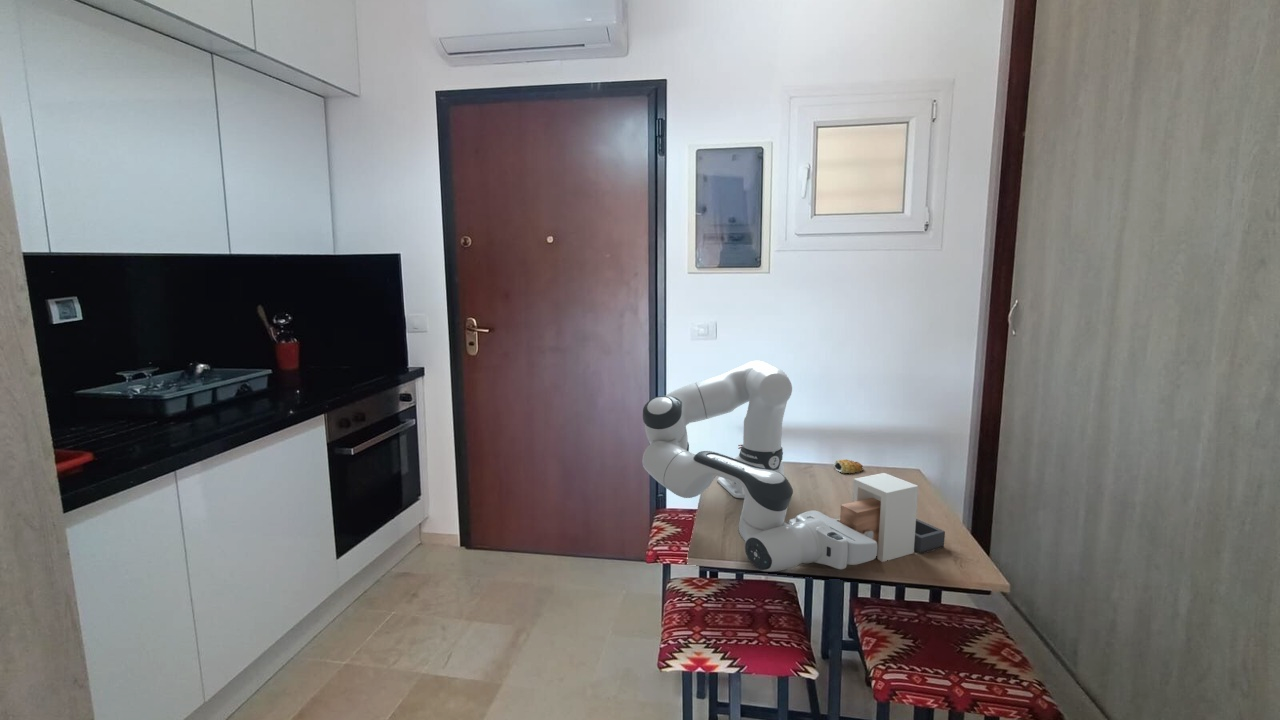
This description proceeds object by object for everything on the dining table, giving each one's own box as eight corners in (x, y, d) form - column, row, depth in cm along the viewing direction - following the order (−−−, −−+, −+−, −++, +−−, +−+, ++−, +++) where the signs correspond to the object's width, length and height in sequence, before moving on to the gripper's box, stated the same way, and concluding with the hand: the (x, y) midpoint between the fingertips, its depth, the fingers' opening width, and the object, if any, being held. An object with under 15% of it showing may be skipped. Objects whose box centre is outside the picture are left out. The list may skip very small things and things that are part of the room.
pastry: (855, 466, 202) (855, 455, 201) (867, 473, 195) (868, 461, 195) (831, 469, 199) (831, 458, 199) (843, 475, 193) (843, 464, 192)
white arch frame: (849, 543, 144) (853, 478, 142) (880, 536, 148) (884, 472, 146) (882, 561, 135) (886, 492, 133) (913, 553, 140) (918, 485, 137)
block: (838, 553, 140) (840, 504, 138) (869, 544, 144) (872, 497, 142) (854, 562, 135) (857, 512, 133) (886, 553, 139) (889, 505, 137)
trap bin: (879, 533, 150) (880, 518, 149) (902, 527, 153) (903, 513, 153) (920, 554, 139) (921, 537, 138) (943, 547, 142) (945, 531, 142)
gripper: (783, 534, 142) (827, 523, 148) (846, 573, 124) (894, 559, 129) (784, 509, 141) (829, 499, 147) (848, 545, 123) (896, 532, 128)
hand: (860, 528), depth 138 cm, fingers closed on block, 5 cm apart
